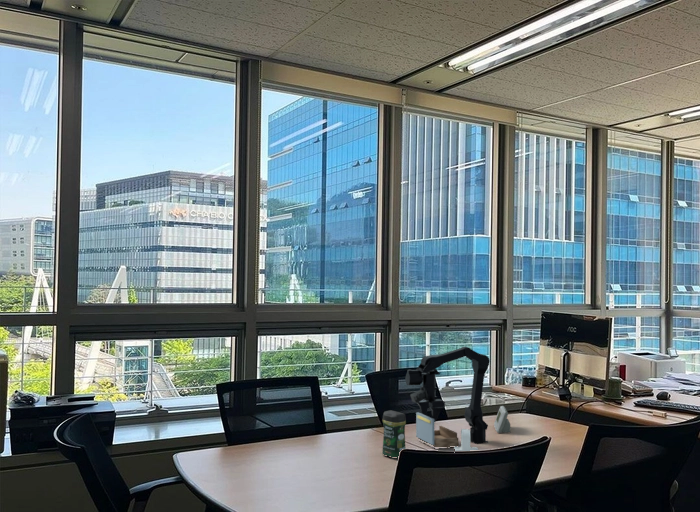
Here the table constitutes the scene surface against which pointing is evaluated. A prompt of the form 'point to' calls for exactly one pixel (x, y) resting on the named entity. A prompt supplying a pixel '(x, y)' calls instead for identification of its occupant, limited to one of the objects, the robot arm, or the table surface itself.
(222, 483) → the table surface
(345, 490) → the table surface
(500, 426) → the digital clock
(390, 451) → the coffee jar
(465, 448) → the cable organizer
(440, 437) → the tray
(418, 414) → the panel
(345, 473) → the table surface
